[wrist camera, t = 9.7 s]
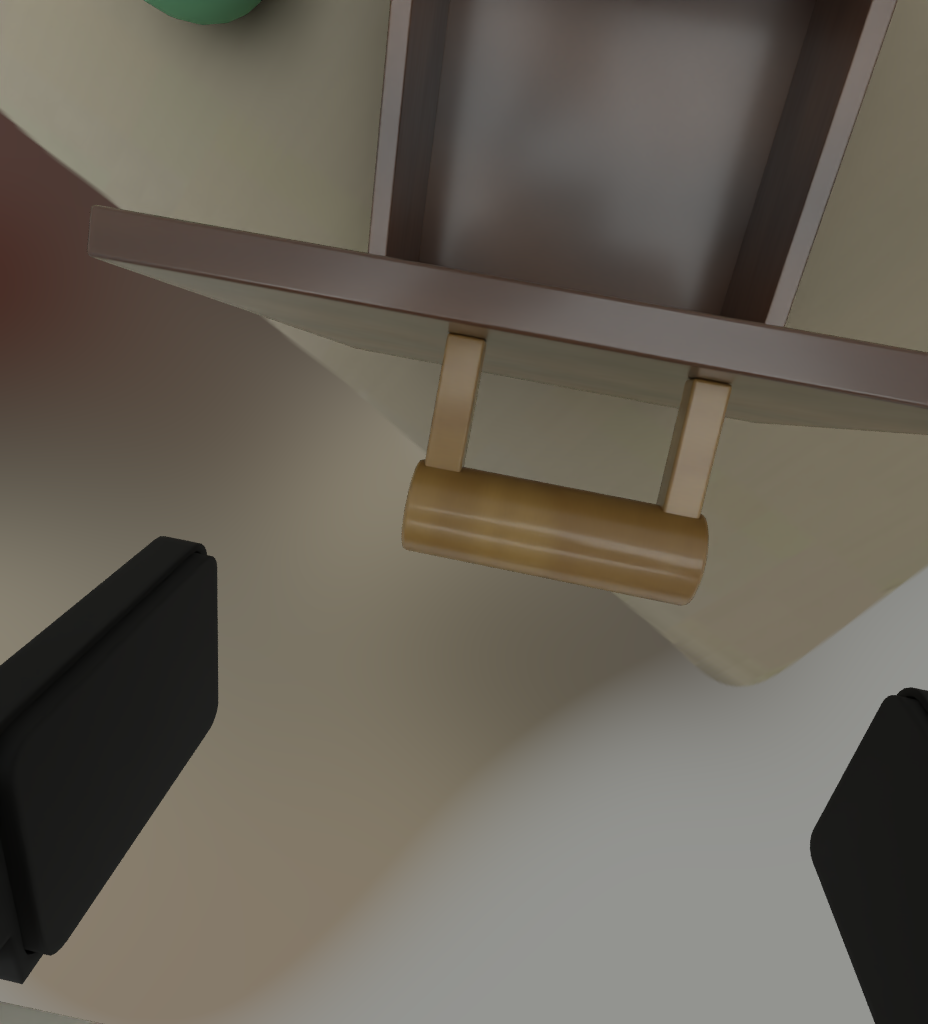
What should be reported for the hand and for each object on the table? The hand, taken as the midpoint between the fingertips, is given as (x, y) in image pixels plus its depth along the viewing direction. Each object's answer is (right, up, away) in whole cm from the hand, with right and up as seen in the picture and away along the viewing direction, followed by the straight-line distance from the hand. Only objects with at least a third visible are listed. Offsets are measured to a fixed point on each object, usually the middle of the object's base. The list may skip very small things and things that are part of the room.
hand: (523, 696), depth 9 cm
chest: (+5, +19, +22) cm, 29 cm away
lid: (+2, +7, +9) cm, 12 cm away
